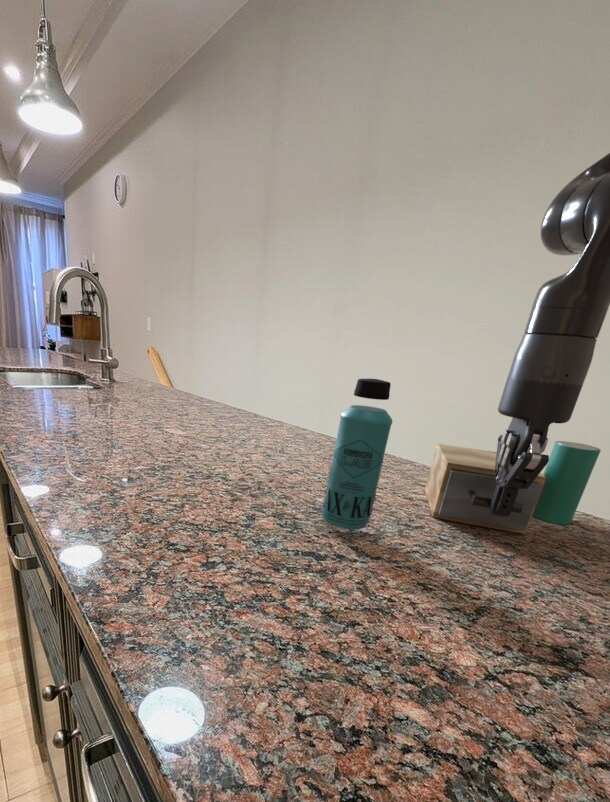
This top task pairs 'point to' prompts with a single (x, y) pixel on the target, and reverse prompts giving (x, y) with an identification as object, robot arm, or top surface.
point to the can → (565, 481)
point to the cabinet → (464, 461)
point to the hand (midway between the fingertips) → (498, 513)
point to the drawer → (484, 500)
